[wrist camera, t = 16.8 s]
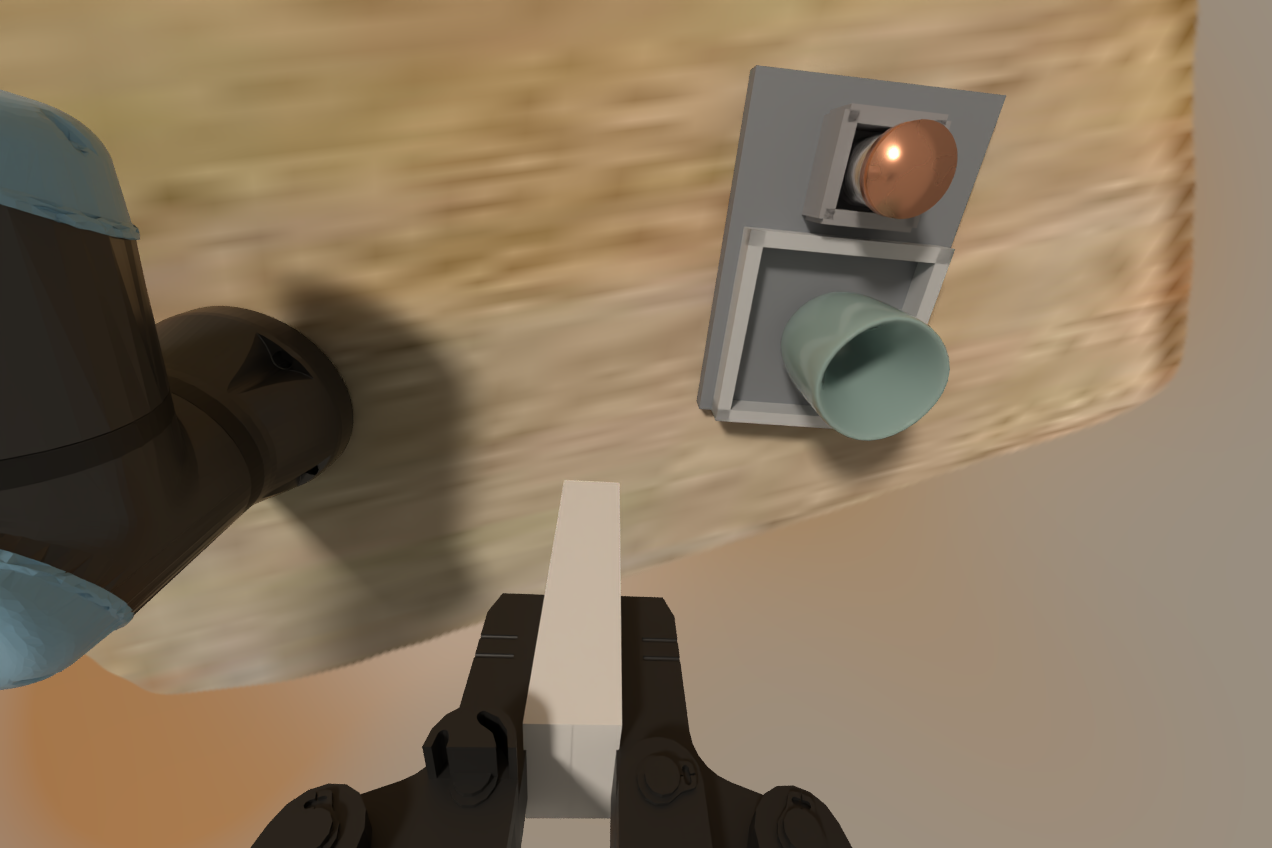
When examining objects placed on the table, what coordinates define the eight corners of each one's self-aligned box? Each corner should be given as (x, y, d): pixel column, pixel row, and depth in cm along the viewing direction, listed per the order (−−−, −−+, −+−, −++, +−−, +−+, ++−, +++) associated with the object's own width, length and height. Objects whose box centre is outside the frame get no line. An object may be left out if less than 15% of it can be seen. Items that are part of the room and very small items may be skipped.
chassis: (696, 401, 41) (705, 426, 37) (750, 69, 31) (771, 53, 26) (878, 414, 42) (907, 440, 38) (989, 98, 32) (1046, 87, 28)
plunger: (817, 208, 33) (856, 214, 27) (837, 124, 30) (884, 114, 25) (886, 215, 33) (937, 223, 28) (910, 133, 31) (971, 124, 25)
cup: (831, 258, 35) (904, 286, 26) (890, 331, 37) (976, 380, 28) (747, 335, 37) (788, 386, 28) (809, 399, 40) (864, 464, 31)
